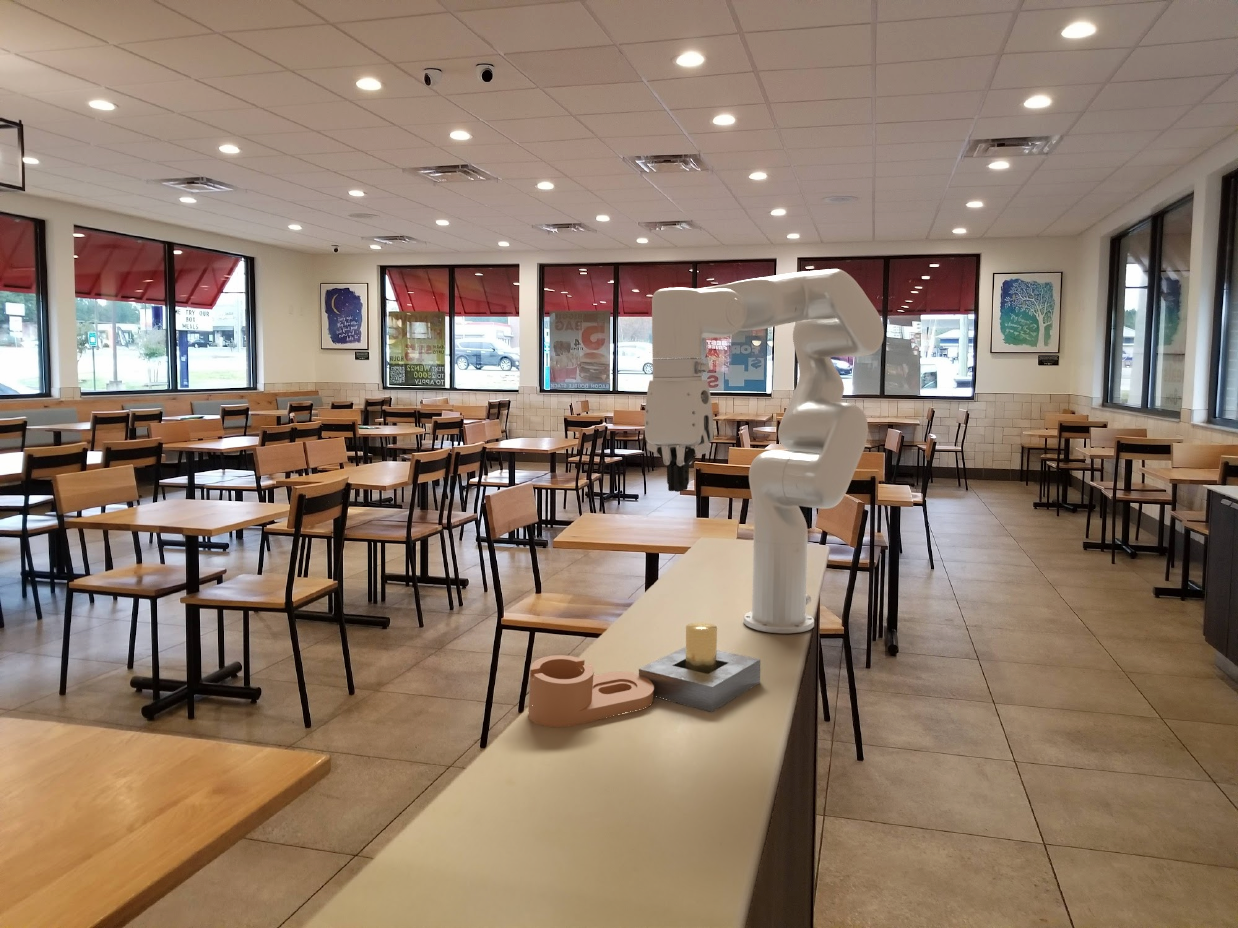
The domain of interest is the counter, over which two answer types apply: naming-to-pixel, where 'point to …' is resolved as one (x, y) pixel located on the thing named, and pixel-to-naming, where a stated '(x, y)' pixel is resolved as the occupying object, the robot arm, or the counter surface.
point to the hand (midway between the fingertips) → (678, 490)
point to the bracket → (582, 692)
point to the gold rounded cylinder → (701, 647)
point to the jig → (702, 679)
